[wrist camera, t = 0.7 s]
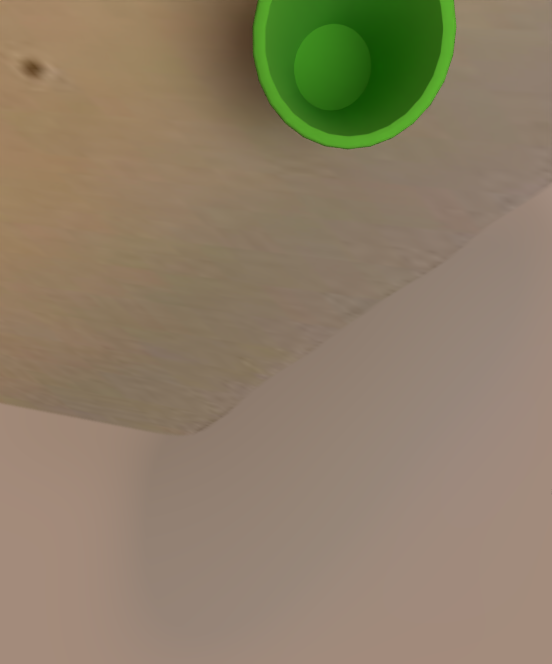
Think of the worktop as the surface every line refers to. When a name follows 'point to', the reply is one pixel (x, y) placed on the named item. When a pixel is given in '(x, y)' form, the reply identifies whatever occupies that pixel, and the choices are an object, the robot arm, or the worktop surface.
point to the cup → (352, 64)
